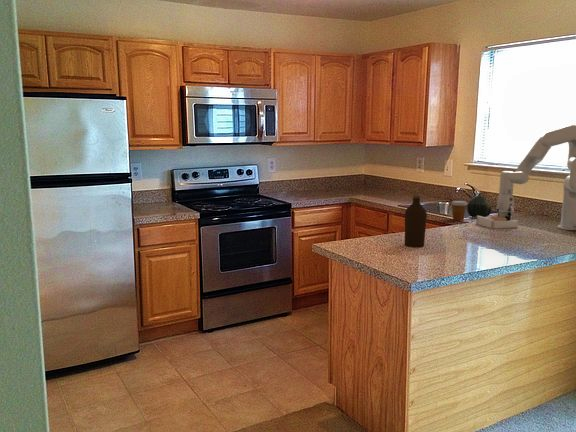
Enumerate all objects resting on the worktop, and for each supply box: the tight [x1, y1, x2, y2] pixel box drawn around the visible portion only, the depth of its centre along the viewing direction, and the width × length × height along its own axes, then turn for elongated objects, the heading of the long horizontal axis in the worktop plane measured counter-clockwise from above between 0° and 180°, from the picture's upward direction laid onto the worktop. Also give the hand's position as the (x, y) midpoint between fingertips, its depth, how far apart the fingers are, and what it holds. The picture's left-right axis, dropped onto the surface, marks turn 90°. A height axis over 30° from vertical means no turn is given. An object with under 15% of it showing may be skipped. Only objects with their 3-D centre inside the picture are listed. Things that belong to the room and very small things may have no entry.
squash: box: [466, 194, 493, 218], centre depth 337 cm, size 14×15×15 cm
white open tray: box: [475, 216, 519, 229], centre depth 307 cm, size 15×17×5 cm
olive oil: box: [404, 194, 428, 248], centre depth 251 cm, size 11×11×25 cm
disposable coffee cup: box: [450, 200, 468, 222], centre depth 324 cm, size 10×10×12 cm
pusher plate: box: [490, 214, 507, 221], centre depth 307 cm, size 12×2×5 cm, turn 14°
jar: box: [499, 210, 509, 218], centre depth 307 cm, size 6×6×9 cm
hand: (503, 221), depth 308 cm, fingers closed on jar, 6 cm apart
